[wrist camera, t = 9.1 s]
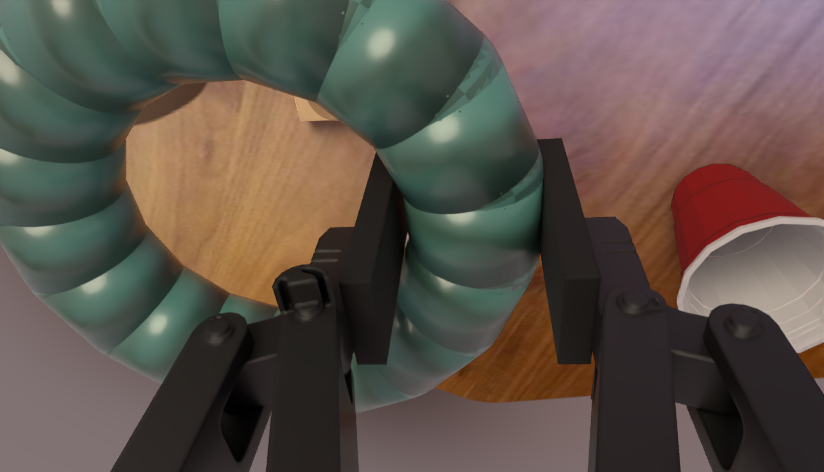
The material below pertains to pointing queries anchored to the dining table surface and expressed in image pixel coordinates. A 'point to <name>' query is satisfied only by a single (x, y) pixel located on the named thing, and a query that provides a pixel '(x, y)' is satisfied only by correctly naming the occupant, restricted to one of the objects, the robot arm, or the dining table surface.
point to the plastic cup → (749, 251)
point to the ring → (296, 75)
